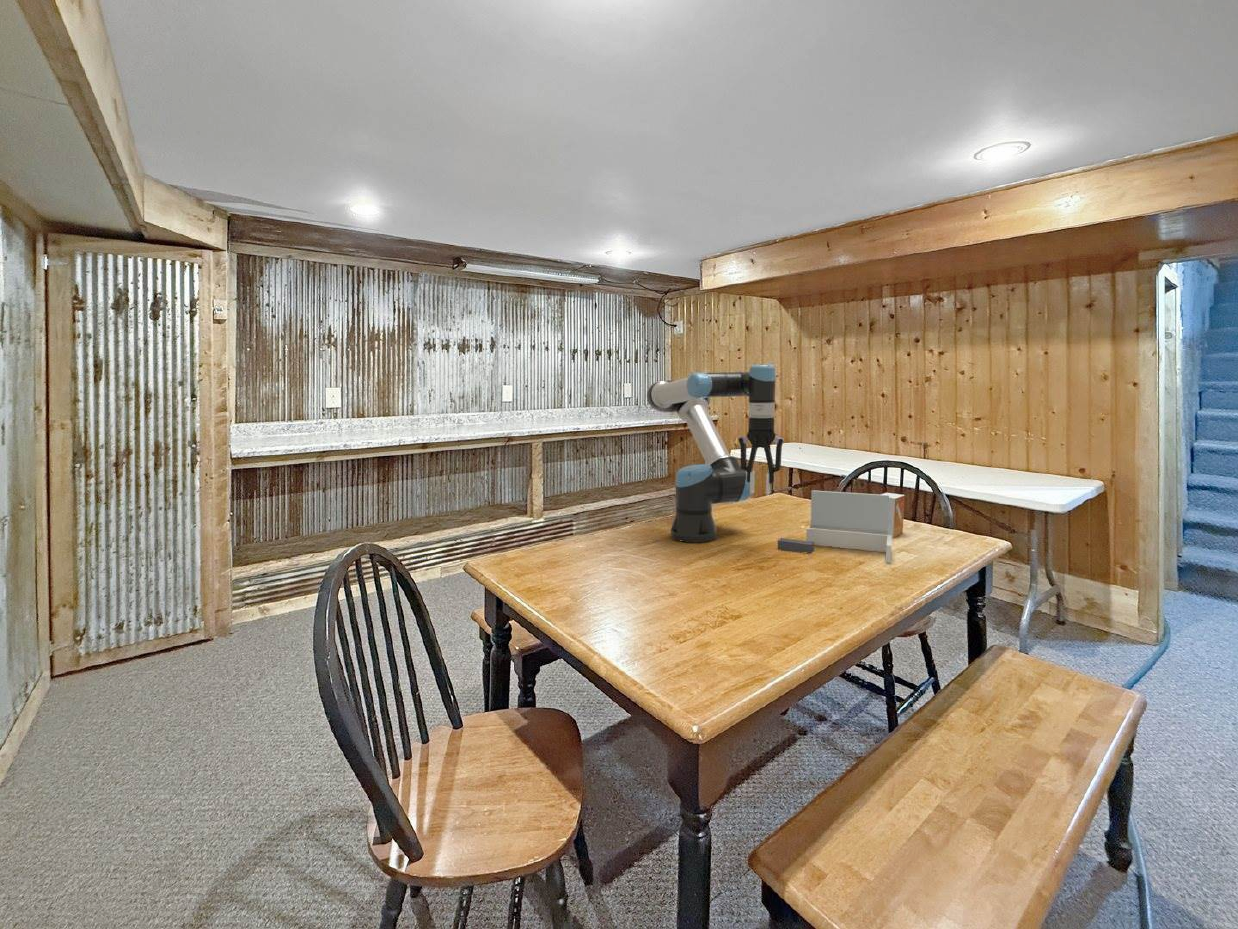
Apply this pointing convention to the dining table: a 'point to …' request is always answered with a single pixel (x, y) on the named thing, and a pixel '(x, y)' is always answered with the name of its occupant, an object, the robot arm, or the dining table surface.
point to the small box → (895, 514)
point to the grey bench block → (851, 540)
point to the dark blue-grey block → (795, 545)
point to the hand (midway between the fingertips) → (760, 493)
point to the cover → (850, 512)
